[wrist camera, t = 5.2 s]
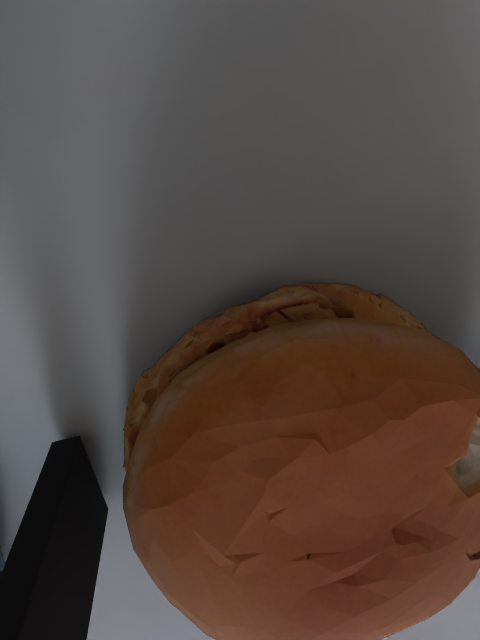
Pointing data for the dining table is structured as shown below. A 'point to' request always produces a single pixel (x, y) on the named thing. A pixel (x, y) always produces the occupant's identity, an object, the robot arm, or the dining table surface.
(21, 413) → the dining table surface
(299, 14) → the dining table surface
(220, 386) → the burger
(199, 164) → the dining table surface
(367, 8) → the dining table surface
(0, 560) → the lid
